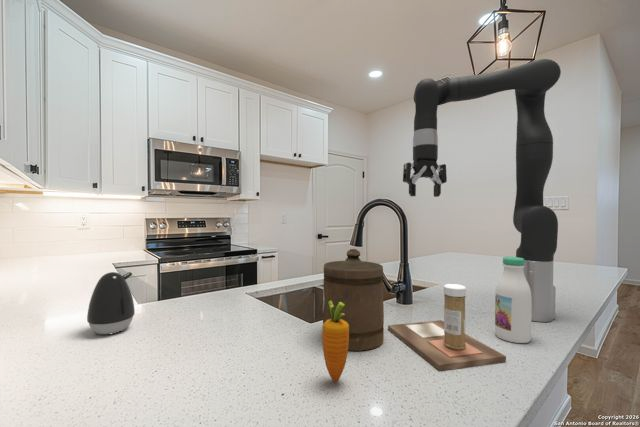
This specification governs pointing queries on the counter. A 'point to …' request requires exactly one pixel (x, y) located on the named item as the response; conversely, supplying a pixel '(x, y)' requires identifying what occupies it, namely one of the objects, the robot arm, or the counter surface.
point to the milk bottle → (513, 303)
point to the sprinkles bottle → (454, 316)
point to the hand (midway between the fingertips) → (424, 196)
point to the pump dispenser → (111, 304)
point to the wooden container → (356, 299)
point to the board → (431, 346)
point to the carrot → (335, 342)
